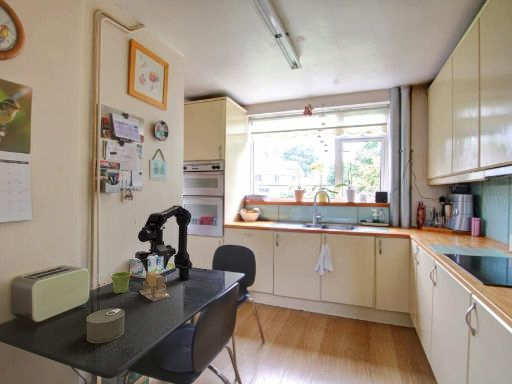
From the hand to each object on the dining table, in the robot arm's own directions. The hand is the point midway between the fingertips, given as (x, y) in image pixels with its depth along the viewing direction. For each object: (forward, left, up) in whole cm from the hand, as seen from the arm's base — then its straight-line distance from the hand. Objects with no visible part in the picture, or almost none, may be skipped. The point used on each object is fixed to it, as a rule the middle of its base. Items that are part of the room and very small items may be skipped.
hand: (156, 270), depth 134 cm
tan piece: (0, -1, -12) cm, 12 cm away
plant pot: (-16, -11, -12) cm, 23 cm away
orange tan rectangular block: (0, -1, -7) cm, 7 cm away
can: (+24, -30, -12) cm, 40 cm away
